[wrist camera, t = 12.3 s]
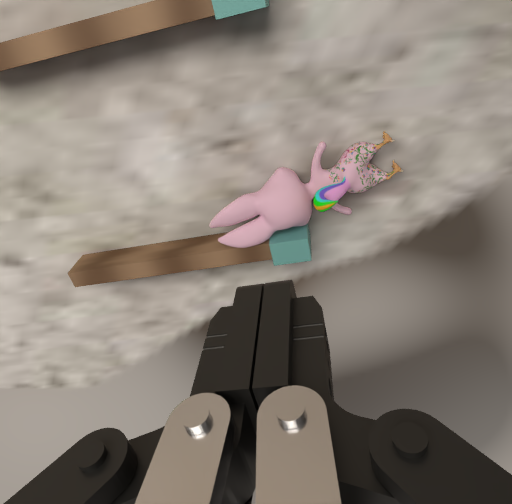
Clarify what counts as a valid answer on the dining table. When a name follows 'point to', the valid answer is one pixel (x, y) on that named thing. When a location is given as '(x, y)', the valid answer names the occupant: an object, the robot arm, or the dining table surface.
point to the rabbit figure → (301, 195)
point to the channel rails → (173, 252)
